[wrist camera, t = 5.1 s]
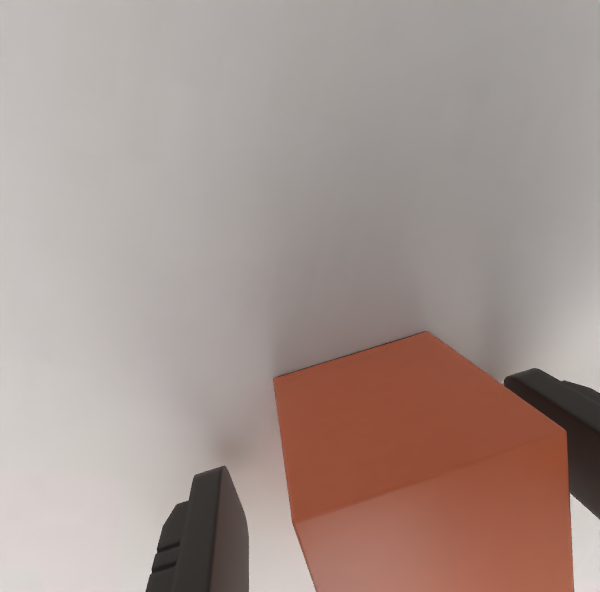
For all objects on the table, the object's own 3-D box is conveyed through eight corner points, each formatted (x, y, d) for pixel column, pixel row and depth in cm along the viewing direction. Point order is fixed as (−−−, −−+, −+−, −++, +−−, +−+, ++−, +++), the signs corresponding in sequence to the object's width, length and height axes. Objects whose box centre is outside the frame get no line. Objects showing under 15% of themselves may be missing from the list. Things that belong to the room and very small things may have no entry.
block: (428, 330, 10) (567, 430, 5) (449, 458, 11) (576, 621, 7) (272, 377, 10) (291, 523, 5) (312, 503, 11) (354, 704, 6)
